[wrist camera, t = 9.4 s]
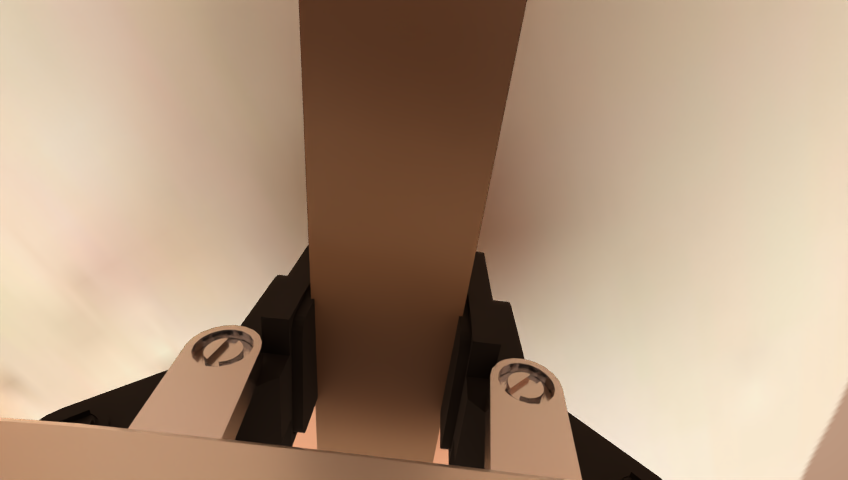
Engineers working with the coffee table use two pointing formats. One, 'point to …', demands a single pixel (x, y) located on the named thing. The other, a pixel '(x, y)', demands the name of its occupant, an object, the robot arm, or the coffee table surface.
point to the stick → (396, 202)
